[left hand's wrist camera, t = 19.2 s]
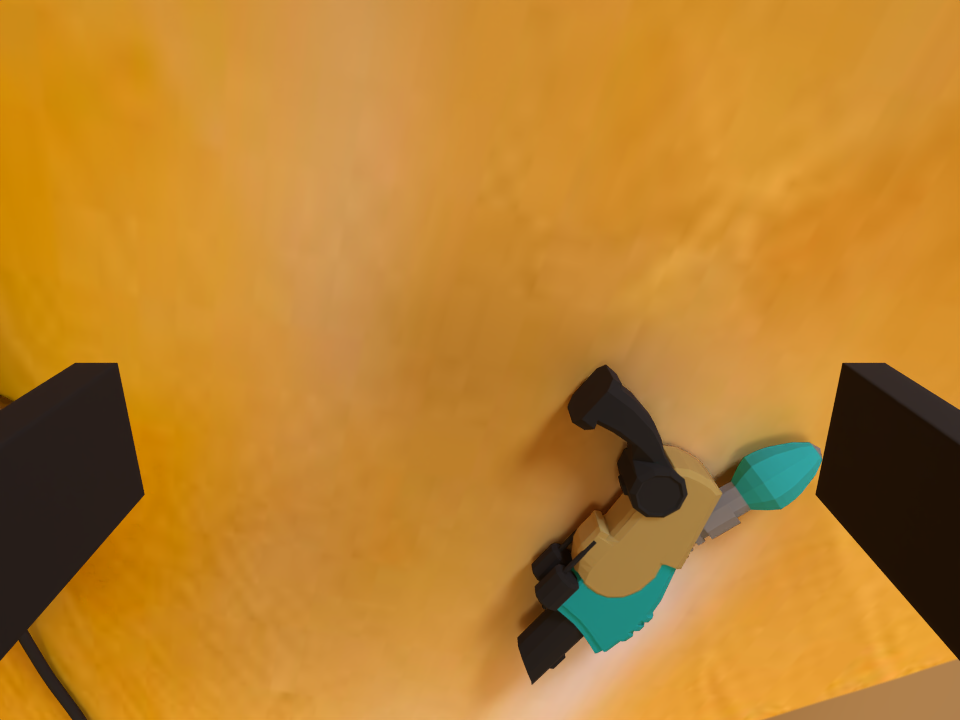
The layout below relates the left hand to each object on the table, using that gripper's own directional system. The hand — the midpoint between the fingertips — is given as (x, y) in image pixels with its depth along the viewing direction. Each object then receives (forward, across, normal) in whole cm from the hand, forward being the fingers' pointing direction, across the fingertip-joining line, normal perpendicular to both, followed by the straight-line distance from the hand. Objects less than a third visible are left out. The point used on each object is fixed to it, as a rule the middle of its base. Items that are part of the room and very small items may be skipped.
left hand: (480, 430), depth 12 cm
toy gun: (+28, -8, +21) cm, 36 cm away
